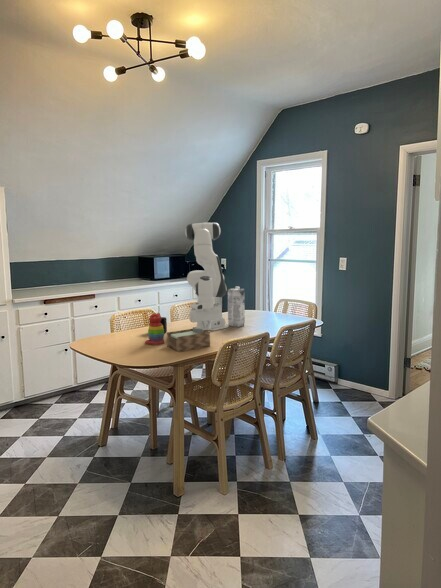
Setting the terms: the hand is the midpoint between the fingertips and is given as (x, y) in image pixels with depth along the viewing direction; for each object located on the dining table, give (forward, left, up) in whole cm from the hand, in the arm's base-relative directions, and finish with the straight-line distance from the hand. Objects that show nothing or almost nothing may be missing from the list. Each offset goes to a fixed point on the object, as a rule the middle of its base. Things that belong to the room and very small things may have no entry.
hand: (206, 328), depth 251 cm
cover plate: (+12, 0, -3) cm, 12 cm away
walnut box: (+12, 0, -9) cm, 15 cm away
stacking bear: (+24, -18, -9) cm, 31 cm away
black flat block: (+12, -41, -9) cm, 44 cm away
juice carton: (-41, -29, -9) cm, 51 cm away
